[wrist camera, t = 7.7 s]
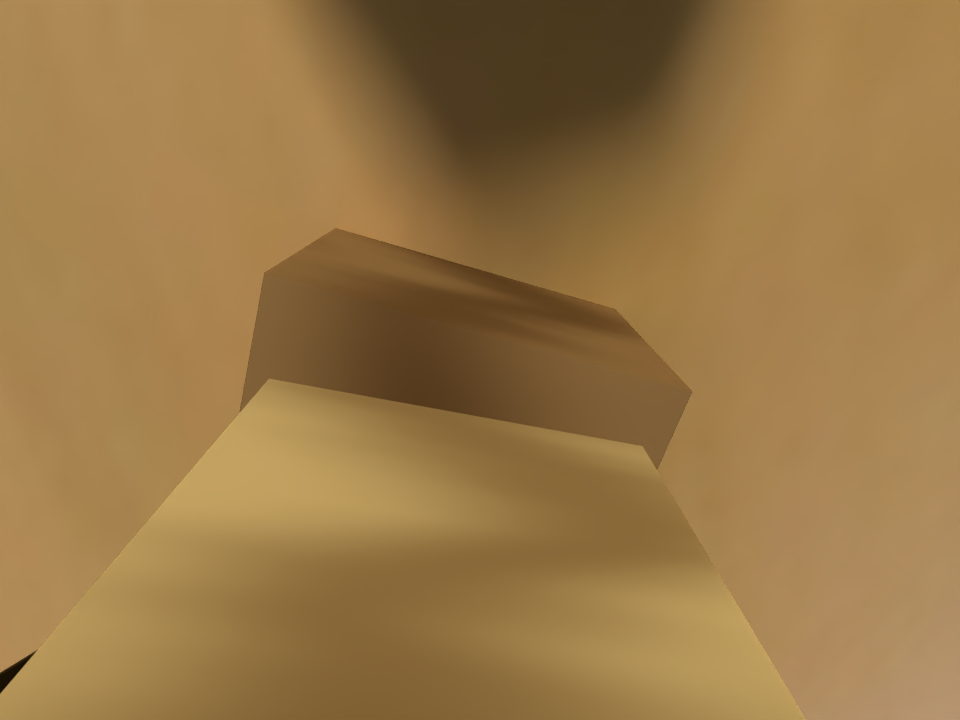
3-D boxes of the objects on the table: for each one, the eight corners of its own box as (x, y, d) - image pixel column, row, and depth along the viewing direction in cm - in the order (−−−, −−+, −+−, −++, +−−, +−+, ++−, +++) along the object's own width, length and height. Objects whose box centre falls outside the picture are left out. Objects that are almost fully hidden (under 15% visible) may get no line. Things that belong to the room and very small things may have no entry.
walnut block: (613, 307, 14) (692, 391, 9) (526, 534, 16) (553, 699, 11) (336, 227, 13) (263, 272, 8) (283, 477, 15) (201, 628, 10)
